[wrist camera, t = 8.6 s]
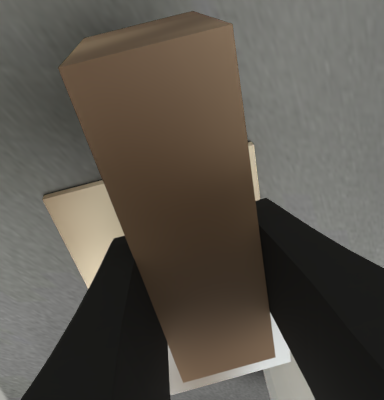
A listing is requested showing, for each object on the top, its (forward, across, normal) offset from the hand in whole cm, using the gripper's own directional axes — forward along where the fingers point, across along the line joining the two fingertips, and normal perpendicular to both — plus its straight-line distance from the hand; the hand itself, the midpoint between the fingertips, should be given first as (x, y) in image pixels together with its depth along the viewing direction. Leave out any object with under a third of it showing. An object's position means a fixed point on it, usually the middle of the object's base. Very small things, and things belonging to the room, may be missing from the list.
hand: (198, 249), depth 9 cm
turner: (+2, 0, +2) cm, 3 cm away
